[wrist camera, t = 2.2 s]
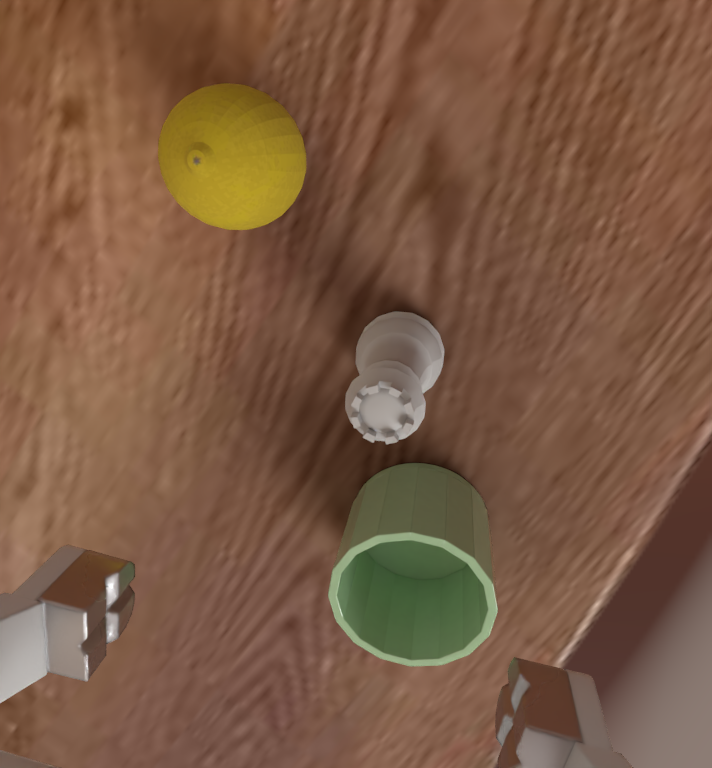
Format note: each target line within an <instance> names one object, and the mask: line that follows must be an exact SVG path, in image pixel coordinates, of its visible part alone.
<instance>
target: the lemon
mask: <svg viewBox="0 0 712 768" xmlns="http://www.w3.org/2000/svg"><path fill="white" fill-rule="evenodd" d="M158 159H159V165H160V170H161V174H162V177H163V179H164V181H165V184H166V186H167V188H168V190H169V191H170V193H171V194H172V196H173V197H174V198H175V200H176V201H177V203H178V204H179V205H180V206H182V207H183V208H184V209H185V210H186V211H187V212H188V213H189V214H190V215H192V216H194V217H196V218H197V219H199V220H201V221H203V222H205V223H206V224H209V225H212V226H216V227H219V228H223V229H227V230H249V229H253V228H257V227H260V226H264V225H267V224H269V223H270V222H272V221H273V220H275V219H277V218H278V217H280V216H281V215H283V214H284V213H285V212H286V210H287V209H288V208H289V207H290V206H291V205H292V204H293V203H294V201H295V200H296V198H297V196H298V194H299V192H300V190H301V188H302V186H303V182H304V177H305V173H306V151H305V147H304V142H303V138H302V135H301V133H300V131H299V129H298V127H297V125H296V123H295V121H294V119H293V118H292V117H291V116H290V114H289V113H288V112H287V111H286V110H285V108H284V107H283V106H282V105H281V104H279V103H278V102H277V101H275V100H274V99H273V98H271V97H270V96H269V95H268V94H266V93H264V92H262V91H259V90H257V89H254V88H252V87H249V86H247V85H240V84H229V83H222V84H217V85H212V86H207V87H203V88H201V89H199V90H197V91H195V92H193V93H191V94H189V95H187V96H186V97H184V98H183V99H182V100H181V101H180V102H179V103H178V104H177V105H176V106H175V107H174V108H173V109H172V110H171V112H170V114H169V115H168V117H167V119H166V121H165V123H164V124H163V127H162V130H161V134H160V138H159V143H158Z"/></svg>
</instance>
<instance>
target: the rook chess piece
mask: <svg viewBox="0 0 712 768" xmlns="http://www.w3.org/2000/svg"><path fill="white" fill-rule="evenodd" d="M444 351H445V350H444V347H443V344H442V341H441V337H440V334H439V333H438V332H437V331H436V329H435V328H434V327H433V326H432V325H431V324H430V322H429V321H427V320H425V319H423V318H421V317H420V316H418V315H416V314H414V313H408V312H398V311H394V312H391V313H387V314H384V315H381V316H378V317H377V318H376V319H374V320H373V321H372V322H371V323H370V324H368V325H367V326H366V327H365V329H364V331H363V333H362V334H361V336H360V338H359V340H358V345H357V347H356V366H357V369H358V372H359V374H360V375H359V376H358V377H357V378H355V379H354V380H353V381H352V383H351V385H350V387H349V389H348V391H347V392H346V400H345V409H346V412H347V415H348V417H349V420H350V422H351V423H352V424H353V427H354V428H356V429H357V430H358V431H359V432H360V433H361V434H363V437H362V438H364V439H366V440H368V441H370V442H372V443H374V440H377V441H385V442H386V445H387V444H391V443H395V442H398V440H401V439H405V438H406V437H408V436H409V435H410V434H412V433H413V432H415V431H416V430H417V429H418V427H419V425H420V424H421V422H422V420H423V419H424V415H425V405H426V402H425V399H424V396H423V393H424V392H426V391H427V390H428V389H430V388H431V387H432V386H433V385H434V383H435V381H436V380H437V378H438V376H439V375H440V373H441V369H442V367H443V359H444Z"/></svg>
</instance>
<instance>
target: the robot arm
mask: <svg viewBox="0 0 712 768" xmlns="http://www.w3.org/2000/svg"><path fill="white" fill-rule="evenodd" d="M134 577H135V564H133V563H132V562H131V561H127V560H123V559H120V558H116V557H113V556H109V555H105V554H102V553H98V552H95V551H91V550H85V549H82V548H78V547H75V546H71V545H66V546H63V547H61V548H59V549H58V550H57V551H56V552H55V553H54V554H53V555H52V556H51V557H50V558H49V559H48V560H47V561H46V562H45V563H44V564H43V565H42V566H41V567H40V568H39V569H37V570H36V571H35V572H34V573H33V574H32V575H31V576H30V577H29V578H28V579H27V580H26V581H25V582H24V583H23V584H22V585H21V586H20V587H19V588H18V589H17V590H16V591H14V592H13V593H12V594H9V593H3V594H0V703H1V702H3V701H4V700H6V699H8V698H9V697H11V696H13V695H14V694H16V693H17V692H19V691H21V690H22V689H24V688H26V687H27V686H29V685H31V684H32V683H34V682H35V681H37V680H39V679H40V678H42V677H44V676H45V675H47V672H50V673H54V674H58V675H62V676H66V677H71V678H75V679H79V680H83V681H88V680H89V678H90V677H91V676H92V674H93V673H94V671H95V670H96V669H97V667H98V666H99V664H100V663H101V662H102V660H103V659H104V658H105V656H106V644H108V643H110V642H112V641H114V640H116V639H118V638H119V637H120V635H121V634H122V632H123V631H124V629H125V628H126V626H127V624H128V621H129V619H130V617H131V615H132V611H133V606H134V599H135V593H134V591H133V590H132V588H131V587H130V585H129V584H130V583H131V581H132V580H133V579H134ZM508 680H509V683H508V684H506V685H505V686H503V687H502V689H501V692H500V695H499V698H498V703H497V709H496V722H495V728H496V739H497V740H498V742H499V743H500V744H501V746H502V749H501V752H500V755H499V757H498V768H633V767H632V766H631V765H630V764H629V762H628V761H627V760H626V759H625V758H624V756H623V755H622V754H620V753H617V752H613V748H612V745H611V741H610V738H609V734H608V730H607V727H606V723H605V720H604V716H603V712H602V709H601V705H600V702H599V698H598V694H597V691H596V687H595V683H594V680H593V679H592V677H591V676H590V675H587V674H583V673H578V672H574V671H570V670H566V669H564V670H563V669H561V668H557V667H553V666H548V665H544V664H540V663H536V662H532V661H528V660H524V659H519V658H515V657H514V659H513V660H512V661H511V663H510V666H509V669H508ZM0 768H60V767H57V766H53V765H50V764H47V763H43V762H40V761H36V760H33V759H29V758H26V757H22V756H19V755H15V754H12V753H8V752H5V751H2V750H0Z"/></svg>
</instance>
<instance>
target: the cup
mask: <svg viewBox="0 0 712 768" xmlns="http://www.w3.org/2000/svg"><path fill="white" fill-rule="evenodd" d="M328 597H329V600H330V603H331V607H332V610H333V613H334V617H335V620H336V622H337V623H338V624H339V625H340V626H341V628H342V629H343V630H344V631H345V632H346V634H347V635H348V636H349V637H350V638H351V640H352V641H353V642H354V643H355V644H357V645H359V646H360V647H362V648H364V649H365V650H367V651H369V652H370V653H372V654H373V655H375V656H377V657H378V658H381V659H384V660H388V661H391V662H395V663H399V664H403V665H407V666H435V665H444V664H447V663H449V662H452V661H454V660H457V659H459V658H462V657H465V656H467V655H469V654H471V653H472V652H473V651H474V650H475V649H476V648H477V647H478V646H479V645H480V644H481V643H482V642H483V641H484V640H485V639H486V638H487V637H488V636H489V635H490V633H491V630H492V627H493V624H494V621H495V618H496V615H497V612H498V605H497V593H496V582H495V571H494V559H493V548H492V536H491V529H490V524H489V516H488V512H487V508H486V506H485V504H484V501H483V500H482V498H481V496H480V495H479V493H478V492H477V491H476V490H475V488H474V487H473V486H472V485H471V484H470V483H469V482H467V481H466V480H465V479H464V478H462V477H461V476H459V475H458V474H456V473H454V472H452V471H450V470H448V469H445V468H443V467H439V466H436V465H432V464H426V463H406V464H400V465H396V466H392V467H389V468H387V469H385V470H383V471H380V472H379V473H377V474H376V475H374V476H373V477H371V478H370V479H369V480H368V481H367V482H366V483H365V484H364V485H363V486H362V488H361V489H360V491H359V492H358V494H357V496H356V498H355V500H354V501H353V504H352V507H351V511H350V514H349V517H348V520H347V524H346V527H345V530H344V534H343V537H342V540H341V544H340V547H339V550H338V553H337V557H336V560H335V563H334V567H333V570H332V575H331V580H330V586H329V592H328Z"/></svg>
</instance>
